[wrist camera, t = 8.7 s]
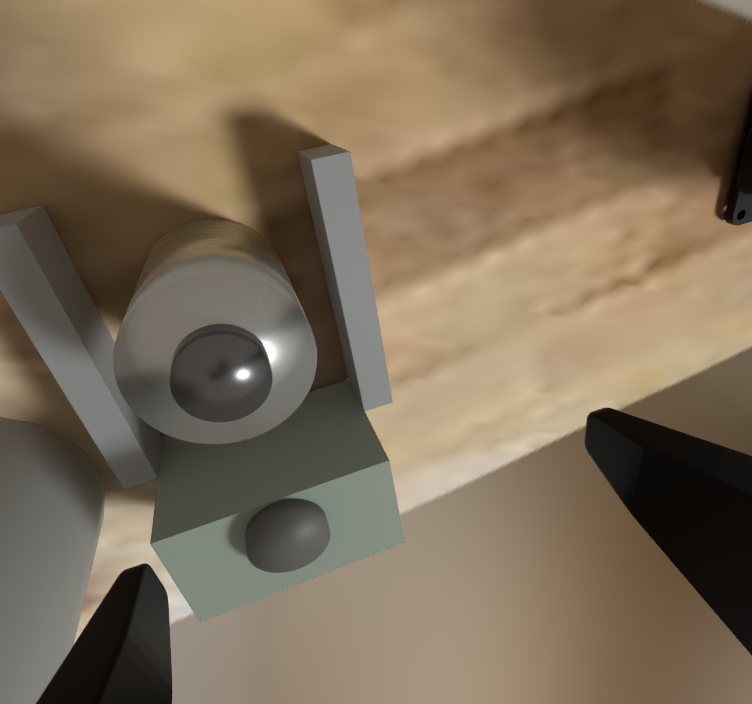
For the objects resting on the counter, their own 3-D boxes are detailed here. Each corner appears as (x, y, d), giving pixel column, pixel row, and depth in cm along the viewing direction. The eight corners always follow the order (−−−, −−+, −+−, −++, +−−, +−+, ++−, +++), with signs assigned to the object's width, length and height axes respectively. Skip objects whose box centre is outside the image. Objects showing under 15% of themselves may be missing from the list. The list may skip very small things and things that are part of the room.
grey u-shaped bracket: (331, 143, 16) (389, 167, 11) (388, 445, 23) (439, 544, 18) (0, 213, 14) (-113, 281, 9) (174, 519, 21) (164, 652, 16)
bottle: (300, 328, 19) (340, 427, 13) (174, 364, 18) (158, 487, 12) (266, 203, 16) (296, 260, 11) (117, 238, 16) (63, 320, 10)
